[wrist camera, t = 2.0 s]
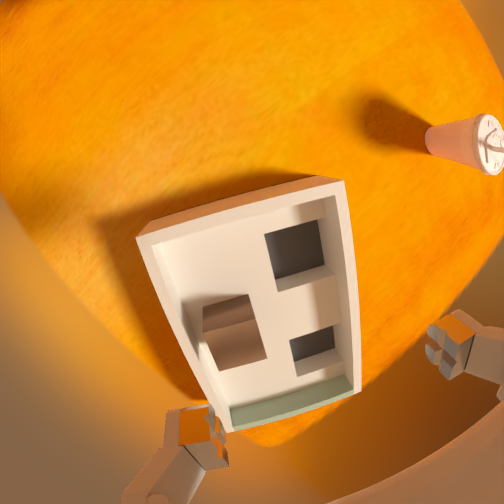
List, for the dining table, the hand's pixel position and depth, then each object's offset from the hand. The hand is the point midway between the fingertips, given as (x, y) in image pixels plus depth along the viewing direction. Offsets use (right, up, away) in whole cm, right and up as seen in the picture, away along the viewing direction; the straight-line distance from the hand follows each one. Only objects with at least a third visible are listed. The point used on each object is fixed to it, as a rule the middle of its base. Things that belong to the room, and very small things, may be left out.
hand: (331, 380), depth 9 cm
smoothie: (+20, +18, +19) cm, 33 cm away
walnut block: (-5, -2, +19) cm, 20 cm away
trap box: (-1, -2, +23) cm, 23 cm away
